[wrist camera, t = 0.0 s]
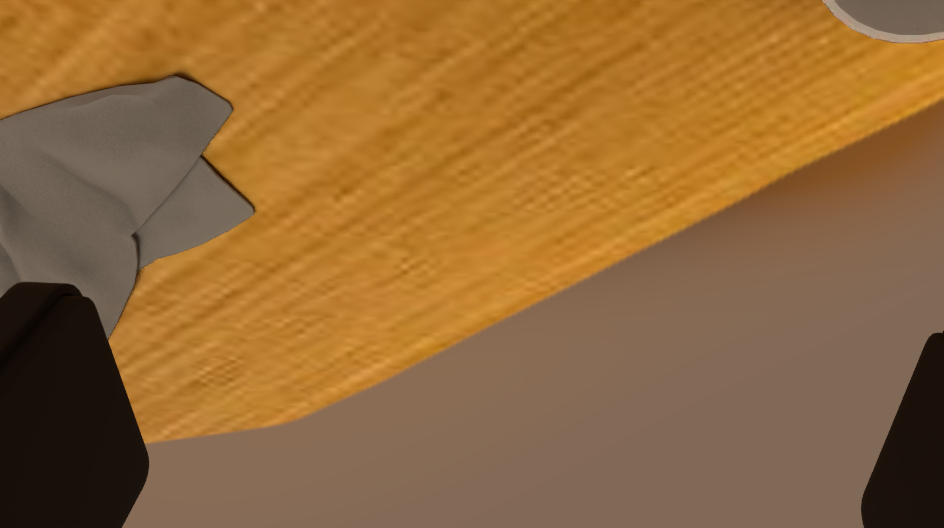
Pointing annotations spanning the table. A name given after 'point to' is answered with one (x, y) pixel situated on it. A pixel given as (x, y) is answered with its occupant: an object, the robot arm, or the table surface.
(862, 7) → the coffee mug
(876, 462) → the robot arm
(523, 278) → the table surface
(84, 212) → the cloth
